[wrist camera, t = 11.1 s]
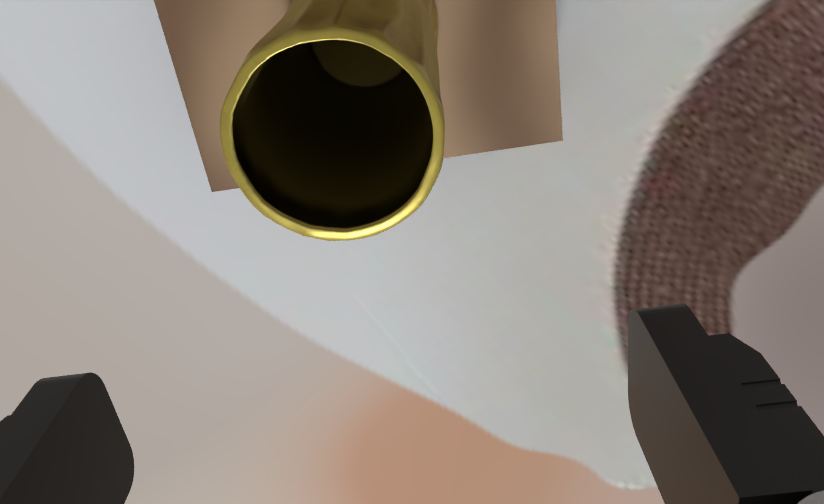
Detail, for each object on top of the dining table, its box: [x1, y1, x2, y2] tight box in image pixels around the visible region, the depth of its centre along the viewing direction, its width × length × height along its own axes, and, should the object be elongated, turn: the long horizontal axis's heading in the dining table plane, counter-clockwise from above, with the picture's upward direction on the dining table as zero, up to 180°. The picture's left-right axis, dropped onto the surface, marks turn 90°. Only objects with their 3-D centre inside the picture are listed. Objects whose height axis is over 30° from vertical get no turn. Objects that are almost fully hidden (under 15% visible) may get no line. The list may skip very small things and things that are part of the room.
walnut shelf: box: [154, 0, 563, 192], centre depth 31 cm, size 16×12×5 cm
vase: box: [220, 0, 445, 241], centre depth 23 cm, size 6×6×14 cm
